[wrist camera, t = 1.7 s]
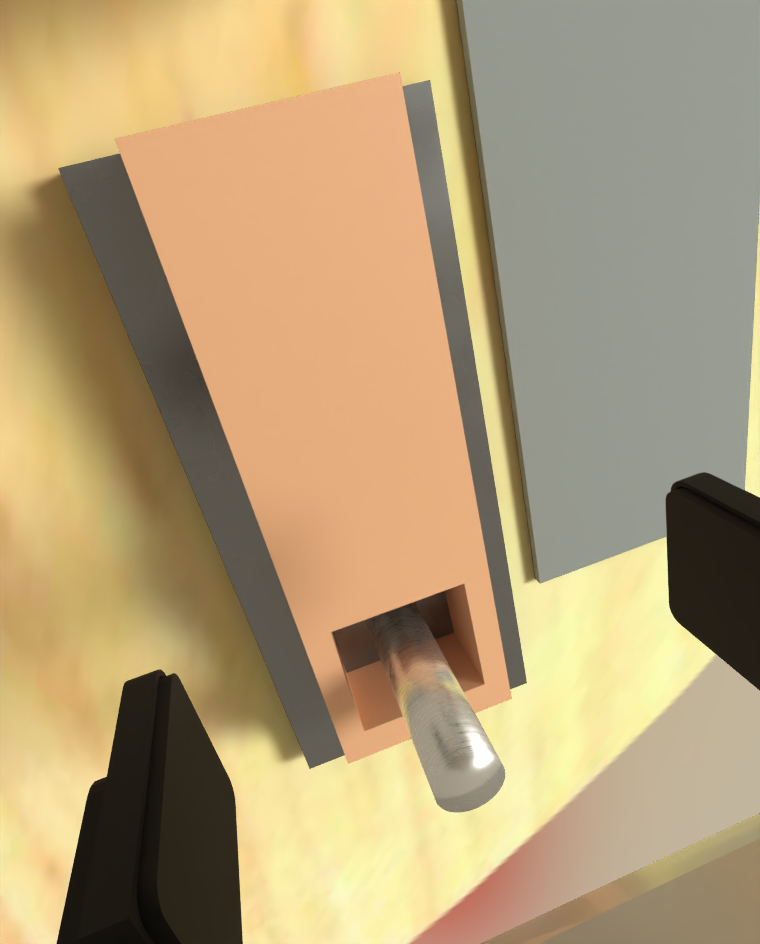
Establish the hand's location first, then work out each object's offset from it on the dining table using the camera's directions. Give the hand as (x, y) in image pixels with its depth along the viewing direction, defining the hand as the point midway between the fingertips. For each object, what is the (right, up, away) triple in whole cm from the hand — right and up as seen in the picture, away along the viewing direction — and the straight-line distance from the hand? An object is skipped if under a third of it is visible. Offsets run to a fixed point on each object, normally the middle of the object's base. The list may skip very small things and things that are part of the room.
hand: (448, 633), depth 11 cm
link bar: (-2, +3, +9) cm, 10 cm away
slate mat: (+8, +9, +11) cm, 16 cm away
